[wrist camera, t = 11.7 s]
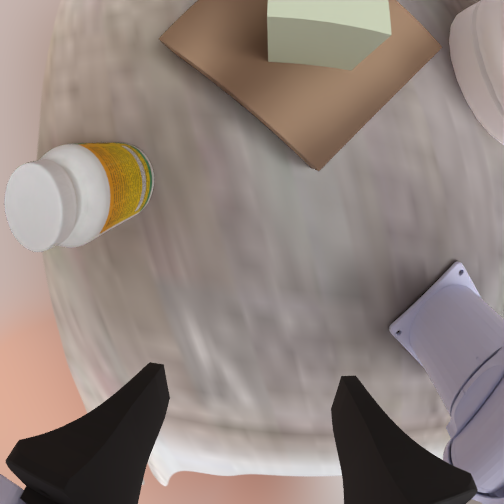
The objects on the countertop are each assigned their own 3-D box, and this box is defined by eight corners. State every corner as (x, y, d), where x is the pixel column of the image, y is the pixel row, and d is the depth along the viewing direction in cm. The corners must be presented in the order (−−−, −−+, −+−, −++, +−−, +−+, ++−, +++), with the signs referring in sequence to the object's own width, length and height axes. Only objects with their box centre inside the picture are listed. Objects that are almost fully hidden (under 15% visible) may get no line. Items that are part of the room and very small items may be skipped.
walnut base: (422, 57, 15) (442, 47, 12) (311, 167, 18) (318, 171, 15) (293, -47, 13) (295, -69, 10) (173, 52, 16) (158, 38, 13)
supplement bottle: (113, 230, 20) (29, 285, 11) (80, 169, 19) (-16, 193, 10) (171, 193, 19) (95, 232, 10) (134, 126, 18) (40, 120, 9)
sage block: (349, 5, 12) (380, -47, 6) (351, 70, 13) (391, 35, 8) (270, -4, 12) (270, -63, 6) (268, 61, 13) (267, 16, 8)
